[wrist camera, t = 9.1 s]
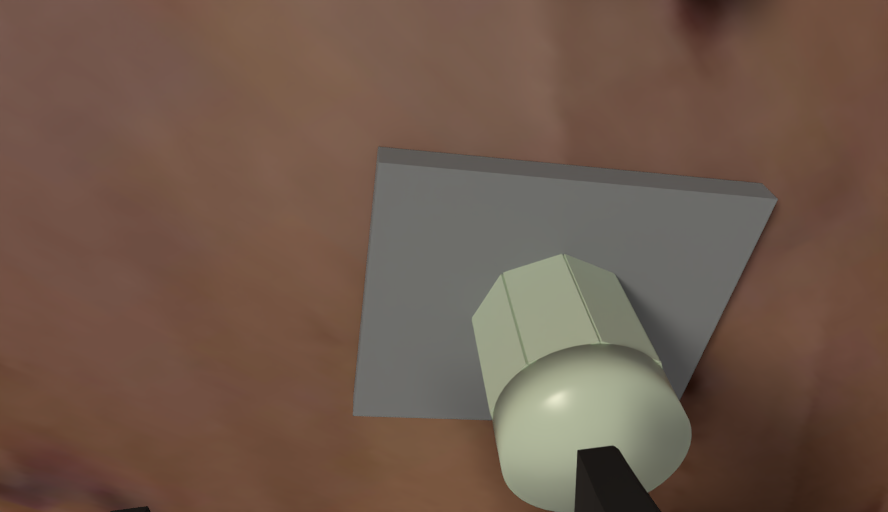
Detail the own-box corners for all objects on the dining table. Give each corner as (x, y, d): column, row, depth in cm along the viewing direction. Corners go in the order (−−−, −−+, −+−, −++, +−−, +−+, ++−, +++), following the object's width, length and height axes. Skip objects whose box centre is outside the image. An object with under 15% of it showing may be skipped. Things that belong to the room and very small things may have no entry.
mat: (761, 183, 21) (778, 199, 20) (658, 406, 26) (667, 425, 25) (378, 146, 19) (378, 162, 18) (353, 395, 24) (352, 415, 23)
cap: (610, 235, 20) (680, 362, 15) (634, 348, 23) (700, 483, 18) (454, 285, 20) (478, 421, 16) (496, 390, 23) (527, 530, 19)
